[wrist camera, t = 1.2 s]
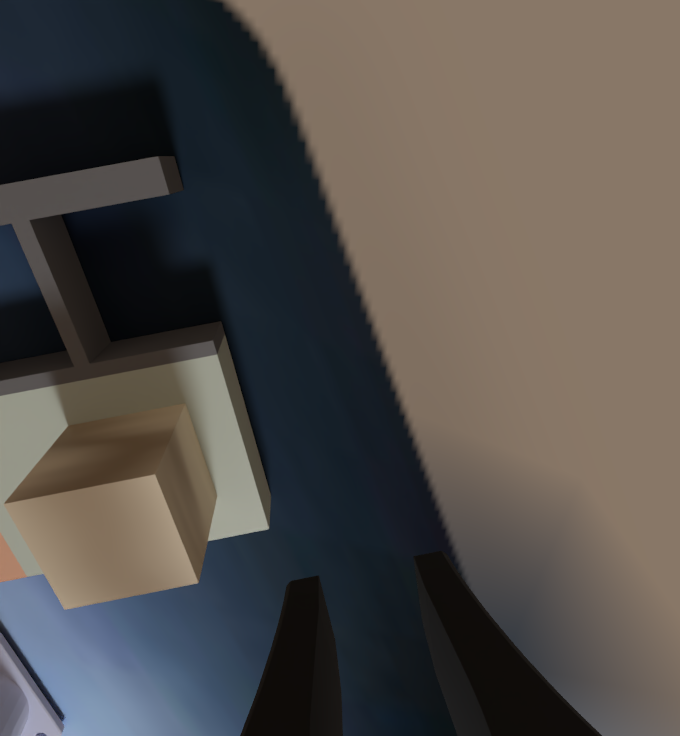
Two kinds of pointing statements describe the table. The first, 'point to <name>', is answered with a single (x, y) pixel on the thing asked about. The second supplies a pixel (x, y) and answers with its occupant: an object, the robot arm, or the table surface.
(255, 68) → the table surface
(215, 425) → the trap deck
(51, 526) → the birch block
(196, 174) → the table surface
